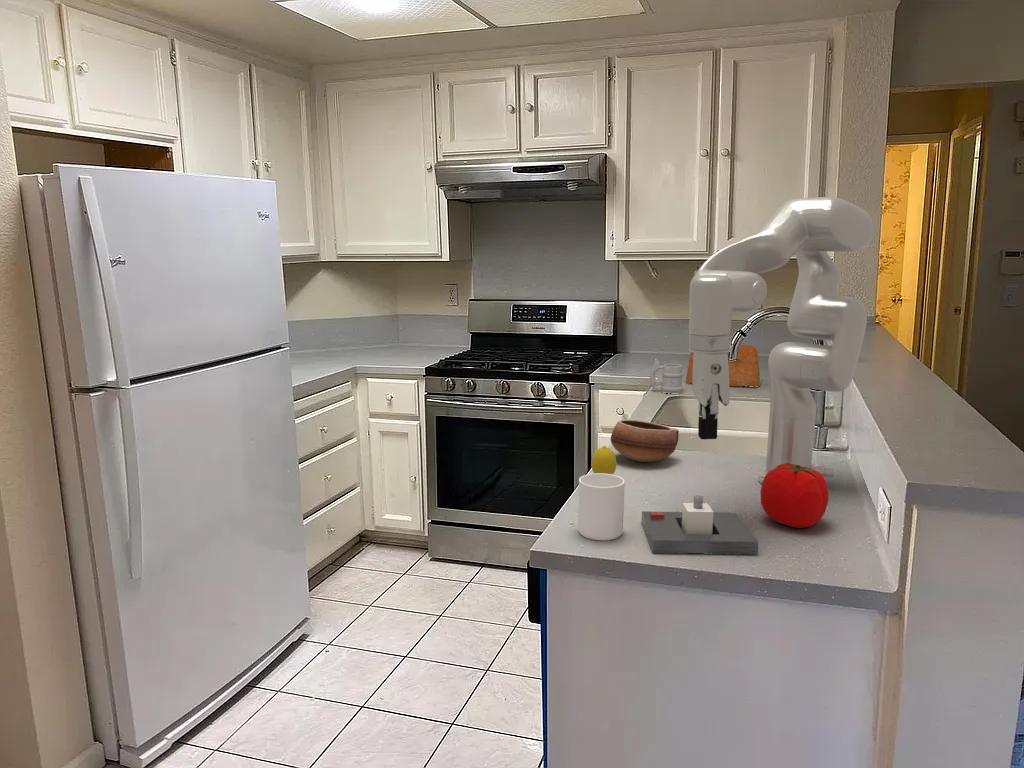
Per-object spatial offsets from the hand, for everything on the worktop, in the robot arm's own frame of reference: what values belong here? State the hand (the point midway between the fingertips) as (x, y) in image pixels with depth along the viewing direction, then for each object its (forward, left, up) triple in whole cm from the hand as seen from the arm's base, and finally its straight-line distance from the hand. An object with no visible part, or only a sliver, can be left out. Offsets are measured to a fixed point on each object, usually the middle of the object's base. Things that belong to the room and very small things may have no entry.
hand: (707, 437), depth 143 cm
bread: (-38, -143, -17) cm, 149 cm away
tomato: (-17, +1, -17) cm, 24 cm away
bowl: (+6, -39, -17) cm, 43 cm away
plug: (+3, +10, -16) cm, 19 cm away
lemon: (+17, -23, -17) cm, 33 cm away
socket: (+3, +10, -16) cm, 19 cm away
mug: (-14, -125, -17) cm, 127 cm away
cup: (+20, +6, -17) cm, 27 cm away
